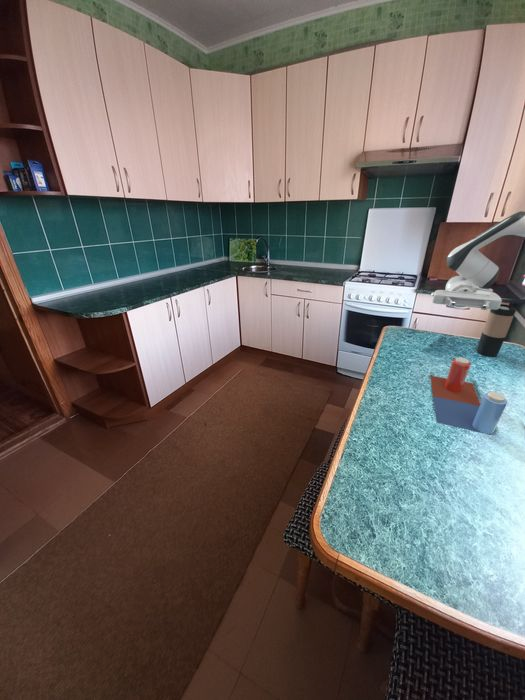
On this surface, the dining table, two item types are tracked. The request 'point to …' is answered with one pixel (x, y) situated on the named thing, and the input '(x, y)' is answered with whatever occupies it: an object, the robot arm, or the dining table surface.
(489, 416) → the blue shaker
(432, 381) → the sorting mat
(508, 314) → the travel mug
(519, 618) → the dining table surface
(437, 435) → the dining table surface
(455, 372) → the cylinder
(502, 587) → the dining table surface
